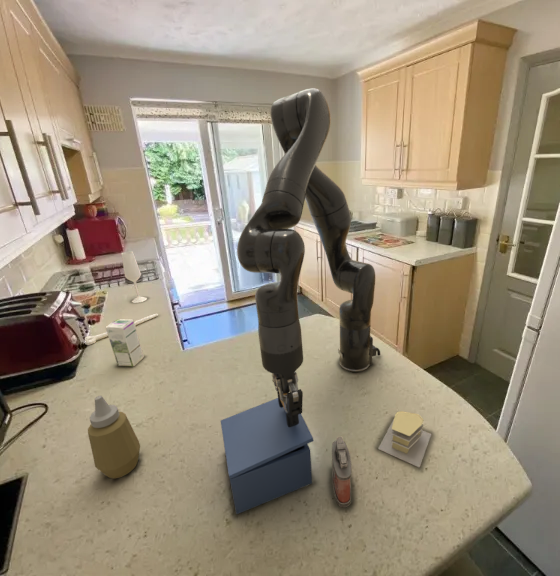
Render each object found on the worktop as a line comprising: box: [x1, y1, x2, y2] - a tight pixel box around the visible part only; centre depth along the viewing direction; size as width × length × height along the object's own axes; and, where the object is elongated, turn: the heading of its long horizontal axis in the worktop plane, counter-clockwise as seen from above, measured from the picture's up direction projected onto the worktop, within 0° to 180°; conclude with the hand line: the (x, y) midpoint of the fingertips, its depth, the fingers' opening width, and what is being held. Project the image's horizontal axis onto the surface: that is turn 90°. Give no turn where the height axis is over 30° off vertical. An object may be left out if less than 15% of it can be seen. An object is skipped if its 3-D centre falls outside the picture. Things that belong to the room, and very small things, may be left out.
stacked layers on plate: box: [377, 410, 432, 469], centre depth 68 cm, size 10×9×6 cm
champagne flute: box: [120, 251, 148, 304], centre depth 148 cm, size 7×7×24 cm
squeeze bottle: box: [87, 395, 141, 479], centre depth 62 cm, size 8×8×18 cm
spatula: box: [84, 313, 159, 346], centre depth 124 cm, size 28×4×3 cm, turn 148°
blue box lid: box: [220, 393, 314, 480], centre depth 60 cm, size 15×14×5 cm
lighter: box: [331, 436, 352, 508], centre depth 58 cm, size 8×3×10 cm, turn 5°
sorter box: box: [229, 443, 313, 515], centre depth 62 cm, size 15×14×9 cm
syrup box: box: [105, 318, 145, 367], centre depth 100 cm, size 6×6×14 cm
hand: (288, 414), depth 62 cm, fingers closed on blue box lid, 5 cm apart
